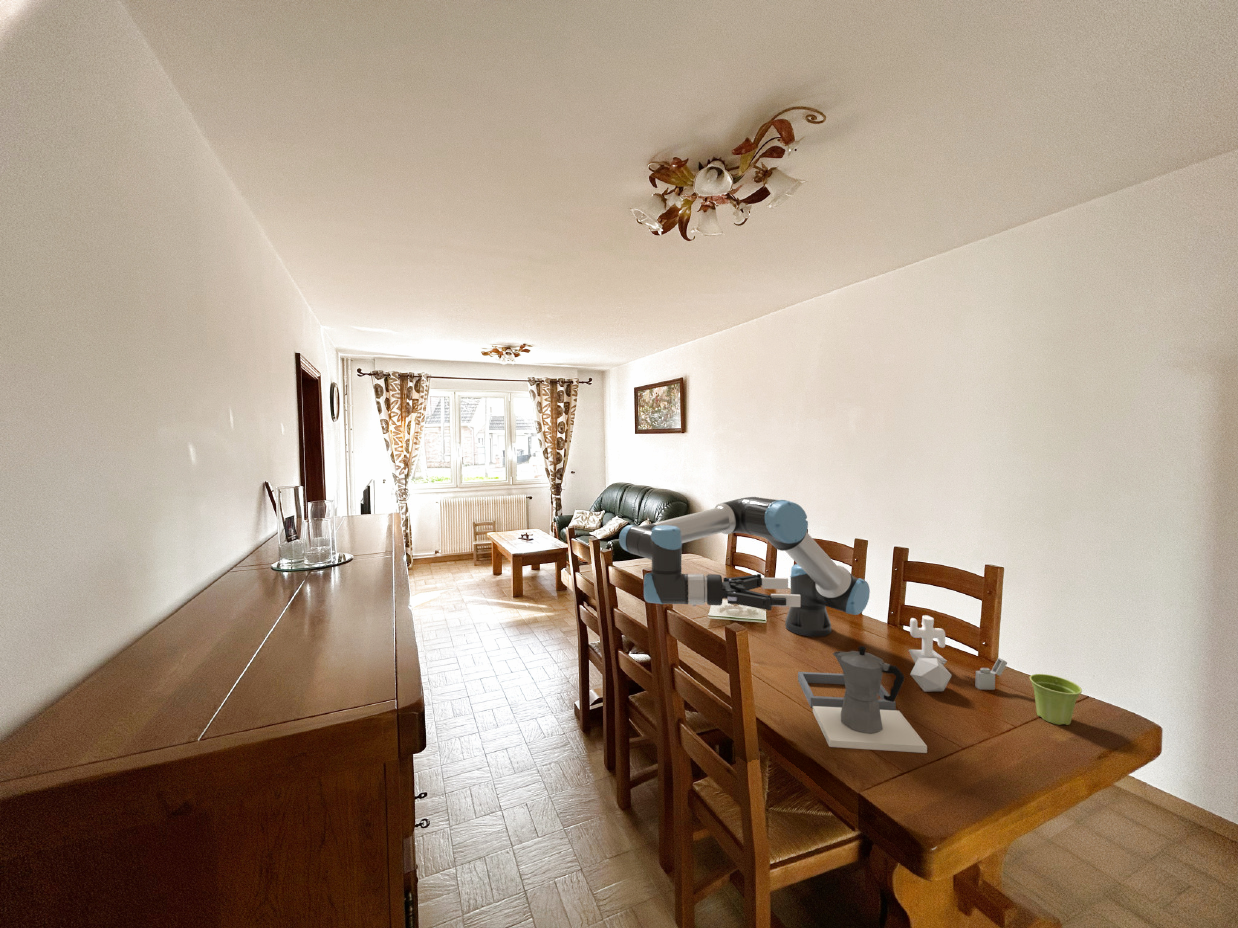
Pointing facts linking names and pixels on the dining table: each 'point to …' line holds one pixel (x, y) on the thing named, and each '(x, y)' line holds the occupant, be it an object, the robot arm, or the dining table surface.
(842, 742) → the trivet
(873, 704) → the coffeepot
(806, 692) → the rimmed stand
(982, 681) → the lighter
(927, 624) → the figurine
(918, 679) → the die
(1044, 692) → the plant pot
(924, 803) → the dining table surface
